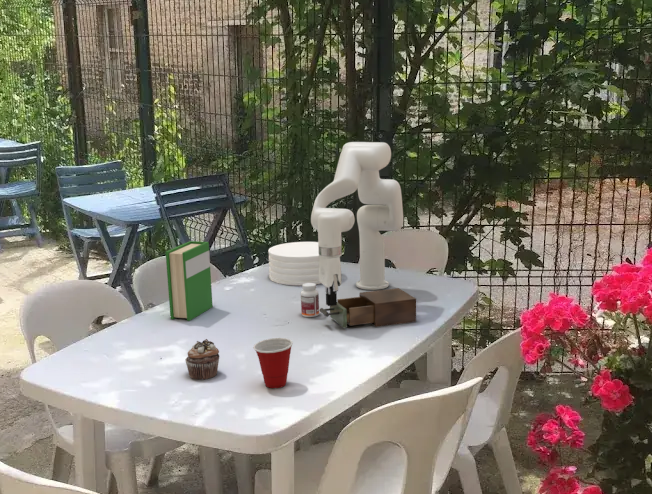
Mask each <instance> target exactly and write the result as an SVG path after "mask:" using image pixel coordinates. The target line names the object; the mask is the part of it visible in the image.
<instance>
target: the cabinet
mask: <svg viewBox="0 0 652 494" xmlns="http://www.w3.org/2000/svg"><path fill="white" fill-rule="evenodd" d="M358 293H359V294H358V295H359V296H358V297H363V298H365V299H366V300H368V301H369V302H371V303H372V304H374V305H375V323H370V324H371V326H374V328H379V327H380V328H381V327H387V326H396V325H403V324H411V323H416V322H417V298H416V297H414V296H413V295H411V294H409V293H408V292H406V291H404V290H402V289H401V288H399V287H396V288H395V287H394V288H388V289H387V288H385V289H379V290H368V291H362V292H358Z"/></svg>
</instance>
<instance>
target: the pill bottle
mask: <svg viewBox="0 0 652 494" xmlns="http://www.w3.org/2000/svg"><path fill="white" fill-rule="evenodd" d="M300 308H301V309H300V310H301V311H300V312H301V316H302V317H304V318H315V317H317V316H319V314H320V298H319V290H318V289H317V284H315V283H305V284H303V285H302V290H301V291H300Z"/></svg>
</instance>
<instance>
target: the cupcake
mask: <svg viewBox="0 0 652 494" xmlns="http://www.w3.org/2000/svg"><path fill="white" fill-rule="evenodd" d="M184 361H185V365H186V368H187V371H188V376H189V377H190V378H191V379H193V380H201V381H202V380H208V379H212V378H214V377H216V376H217V375H218V368H219V363H220V350H219V349H218V348H217V347H216V345H215V343H214V342H213V341H211V340H208V339H207V338H206V339H204V340H202V342H201V341H199V340H196V342H195V343H194V344H193V345H192V346H191V349H189V350H188V352H187V357H186V358H185V360H184Z"/></svg>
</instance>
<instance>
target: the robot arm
mask: <svg viewBox="0 0 652 494" xmlns="http://www.w3.org/2000/svg"><path fill="white" fill-rule="evenodd" d="M391 159H392V150H391V147H390V145H389V144H388V143H387V142H384V141H380V142H379V141H349V142H345V144H343V146H342V150H341V152H340V154H339V158H338V161H337V165H336V170H335V174H334V178H333V180H332V181H331V182H330V183H329V184H327V185H326V186H325V187H324V188H323V189H322V190H321V191H320V192H319V193H318V194H317V196H316V197H315V200H314V201H313V202H314V203H313V206H312V209H311V210H312V211H311V215H310V224H311V227H312V228H313V229H315V230H316V231H317V239H318V240H317V242H318V247H319V281H320V282H321V283H322V285H323V286H324V290H325V305H326V306H327V307H330V306H333V305H337V299H338V296H337V294H338V292H339V287H341V285H342V267H341V266H342V264H341V257H342V255H343V254H342V253H343V252H342V251H343V250H342V245H343V244H342V233H346V232H348V231H350V230H352V229H353V227H354V225H355V221H356V222H357V228H358V236H359V280H358V281H356V283H355V286H356V287H357V288H358V289H360V290H367V291H378V290H385V289H387V288H388V287H389V286H390V282H389V281H387V280H386V275H385V274H386V260H385V259H386V256H385V255H386V254H385V253H386V251H385V250H386V247H385V244H386V243H385V238H384V237H383V234H382V233H381V232H380V231H384V232H397V231H399V230H401V229H402V228H403V226H404V209H403V195H402V188H401V185H400V183H399V182H398V181H397V180H396V179H390V178H386V179H385V178H381V176H380V171H381V170H382V169H384V168H385V167H387V166H388V165H389V163H390V162H391ZM356 191H357V194H358V199H359V202H361V204H364V205H362V206H360V207H359V208H358V209H357V212H356V218H355V215H354V212H353V211H352V210H351V209H348V208H338V207H337V208H336V207H328V206H329V205H330V204H331V203H333V202H334V201H336V200H339V199H342V198H345V197H347V196H349V195H352V194H354V193H355V192H356Z"/></svg>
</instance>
